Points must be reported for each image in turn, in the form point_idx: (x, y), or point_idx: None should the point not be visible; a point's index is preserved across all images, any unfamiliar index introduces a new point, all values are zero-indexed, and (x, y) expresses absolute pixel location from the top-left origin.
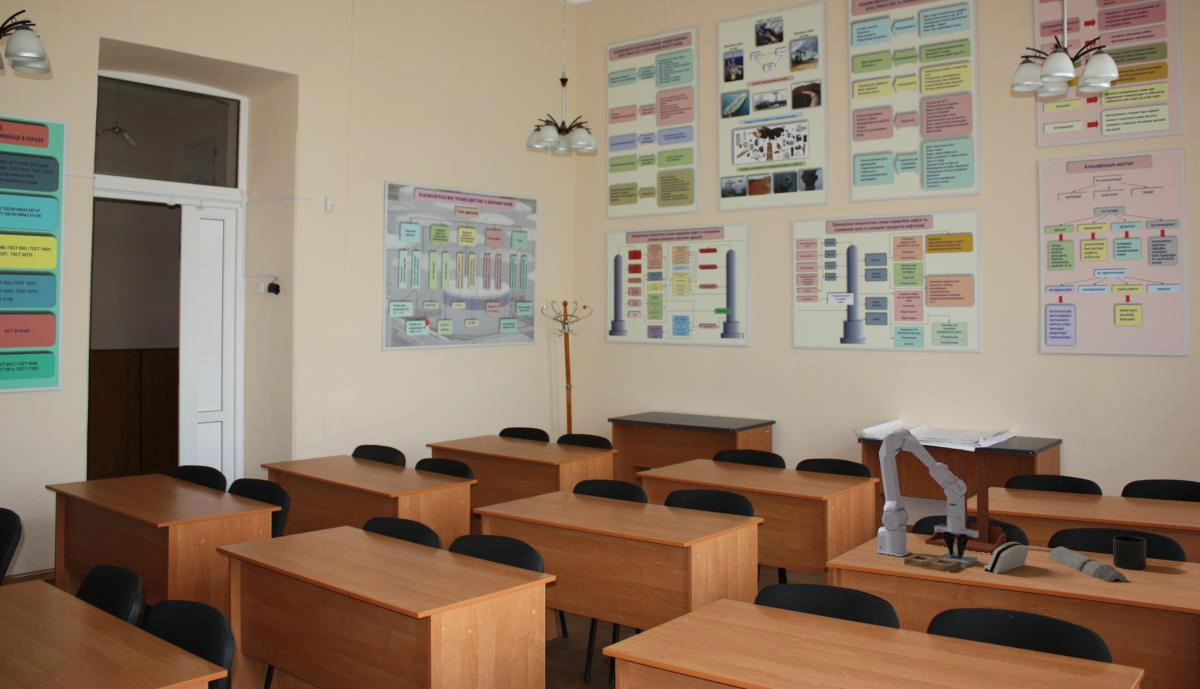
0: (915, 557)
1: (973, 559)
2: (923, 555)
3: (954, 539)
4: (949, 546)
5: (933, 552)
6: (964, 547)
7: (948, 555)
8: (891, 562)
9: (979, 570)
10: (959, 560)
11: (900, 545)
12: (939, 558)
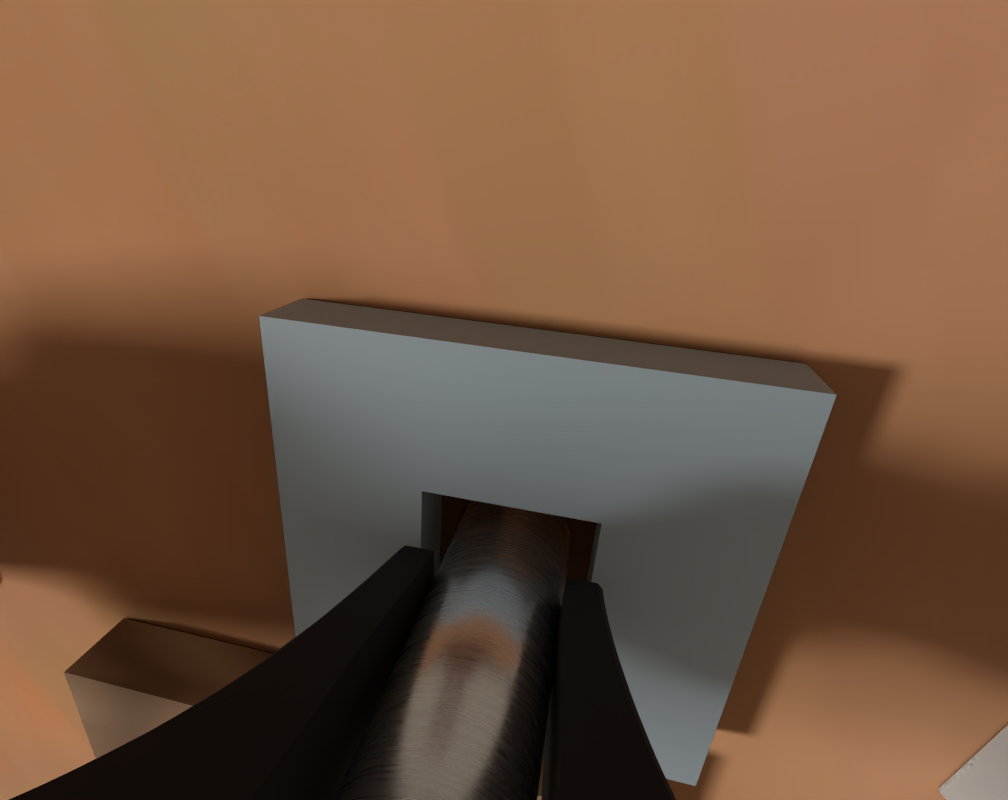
0: None
1: (777, 538)
2: (165, 703)
3: (270, 768)
4: None
5: (6, 140)
6: (625, 726)
7: (358, 515)
8: (67, 749)
9: (891, 792)
10: None
11: None
12: None
